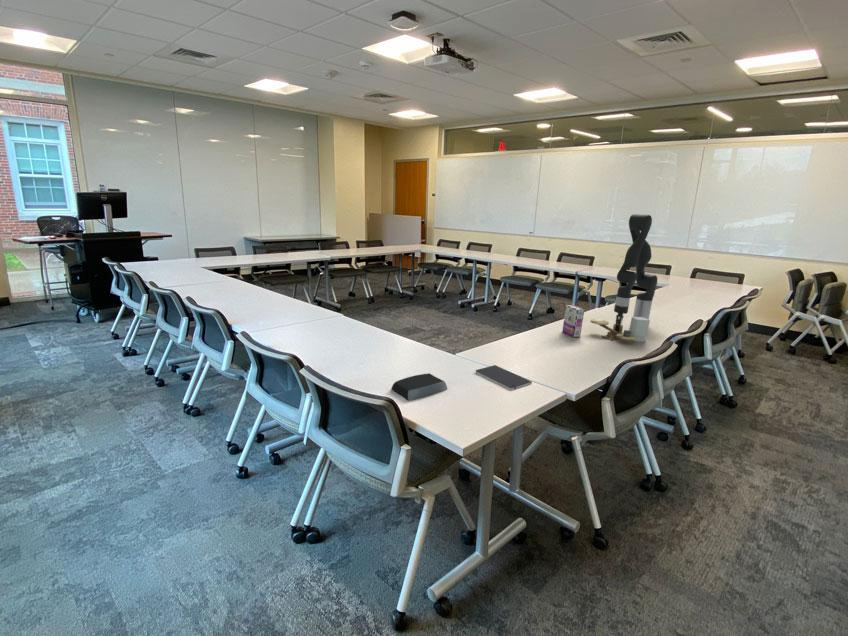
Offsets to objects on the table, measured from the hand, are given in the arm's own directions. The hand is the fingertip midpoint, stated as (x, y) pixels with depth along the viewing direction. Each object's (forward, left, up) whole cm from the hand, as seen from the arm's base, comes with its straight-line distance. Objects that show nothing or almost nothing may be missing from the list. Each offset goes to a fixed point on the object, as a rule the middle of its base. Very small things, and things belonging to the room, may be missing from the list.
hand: (617, 330), depth 268 cm
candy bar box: (+21, -23, -2) cm, 31 cm away
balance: (+13, -2, -1) cm, 13 cm away
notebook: (+106, -37, -2) cm, 112 cm away
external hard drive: (+136, -61, -2) cm, 149 cm away
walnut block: (0, 0, -1) cm, 1 cm away
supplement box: (+7, +11, -2) cm, 13 cm away
